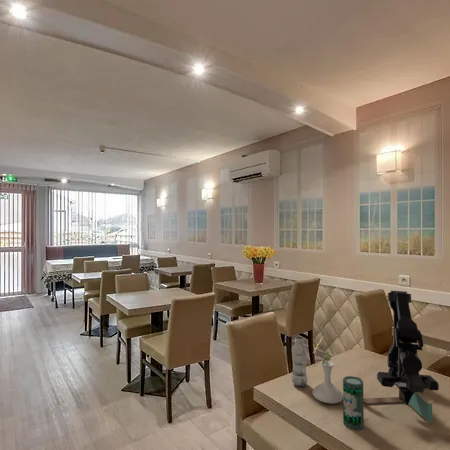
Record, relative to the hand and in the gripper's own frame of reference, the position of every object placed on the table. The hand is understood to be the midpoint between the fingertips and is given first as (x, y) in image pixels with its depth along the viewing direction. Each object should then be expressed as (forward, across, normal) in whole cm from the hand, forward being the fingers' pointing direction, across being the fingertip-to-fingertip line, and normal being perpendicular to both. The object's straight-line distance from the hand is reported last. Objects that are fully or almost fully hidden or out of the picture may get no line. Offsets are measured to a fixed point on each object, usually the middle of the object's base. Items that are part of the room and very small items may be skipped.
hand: (406, 404), depth 113 cm
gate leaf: (+2, +4, +1) cm, 5 cm away
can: (+4, -20, -8) cm, 22 cm away
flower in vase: (+4, -26, +7) cm, 28 cm away
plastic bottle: (+5, -35, +18) cm, 40 cm away
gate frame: (+4, -6, +8) cm, 10 cm away
